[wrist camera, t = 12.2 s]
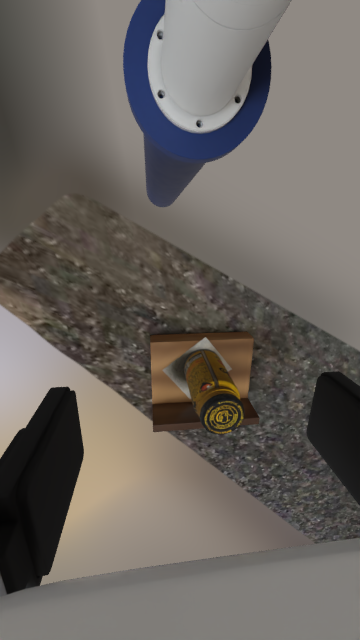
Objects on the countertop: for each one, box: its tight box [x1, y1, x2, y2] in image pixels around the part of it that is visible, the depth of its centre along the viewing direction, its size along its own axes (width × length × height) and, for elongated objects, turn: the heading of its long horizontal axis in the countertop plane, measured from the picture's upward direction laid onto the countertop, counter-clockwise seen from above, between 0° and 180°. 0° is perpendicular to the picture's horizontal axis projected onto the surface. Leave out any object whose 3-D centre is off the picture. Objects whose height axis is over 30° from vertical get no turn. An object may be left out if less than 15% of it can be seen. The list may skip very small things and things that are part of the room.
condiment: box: [162, 337, 245, 434], centre depth 35 cm, size 7×8×12 cm
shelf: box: [150, 332, 259, 432], centre depth 40 cm, size 12×16×8 cm
